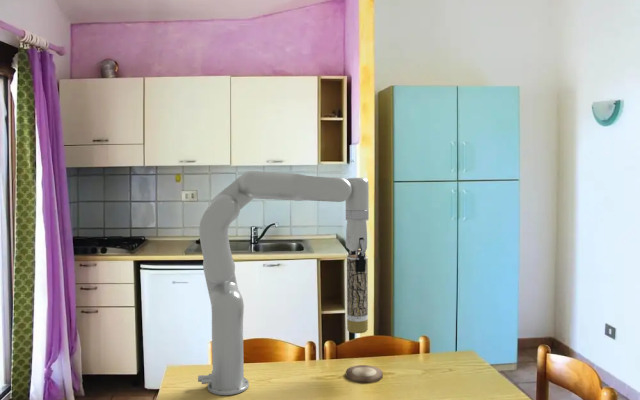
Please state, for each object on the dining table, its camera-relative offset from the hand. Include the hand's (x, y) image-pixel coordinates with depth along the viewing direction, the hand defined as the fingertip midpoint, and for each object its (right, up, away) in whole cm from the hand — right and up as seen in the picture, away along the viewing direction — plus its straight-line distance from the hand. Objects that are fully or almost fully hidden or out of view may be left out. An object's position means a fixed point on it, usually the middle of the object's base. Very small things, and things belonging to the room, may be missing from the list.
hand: (357, 269), depth 175 cm
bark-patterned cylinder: (0, -21, +1) cm, 21 cm away
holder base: (+2, -35, 0) cm, 35 cm away
